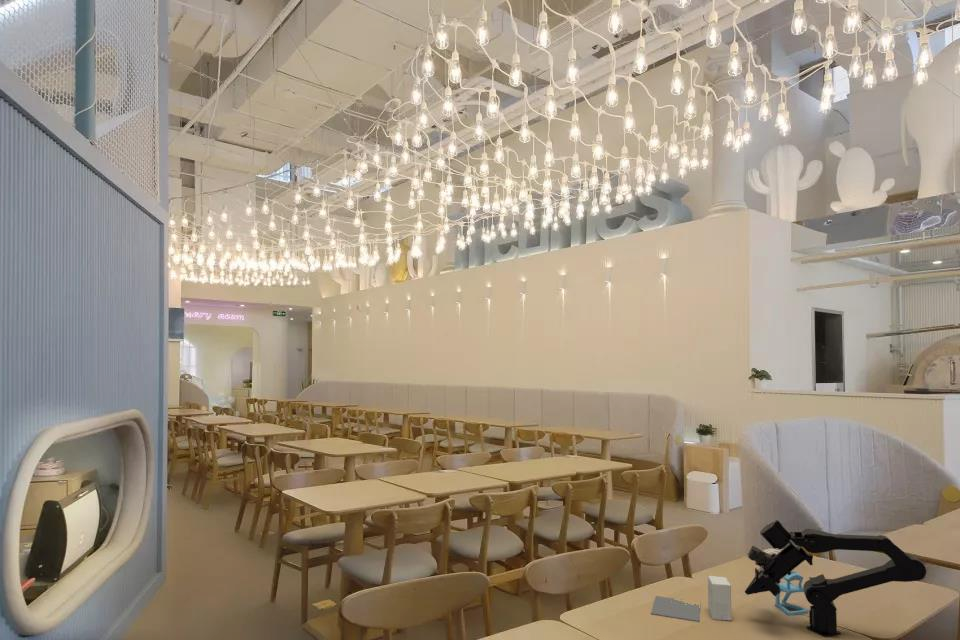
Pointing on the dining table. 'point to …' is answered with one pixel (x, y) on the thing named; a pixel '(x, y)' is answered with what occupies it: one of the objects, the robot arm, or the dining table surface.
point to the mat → (675, 609)
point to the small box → (719, 598)
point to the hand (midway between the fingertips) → (745, 593)
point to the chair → (790, 589)
